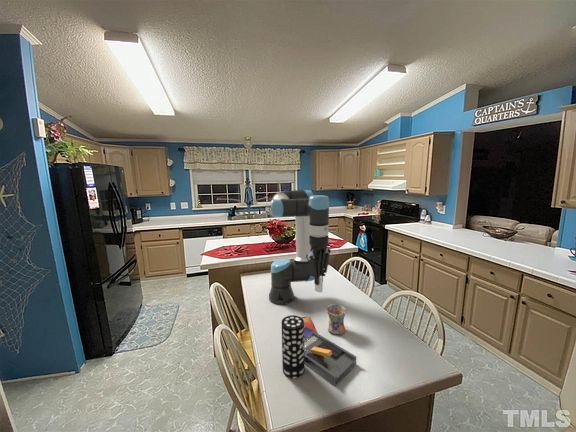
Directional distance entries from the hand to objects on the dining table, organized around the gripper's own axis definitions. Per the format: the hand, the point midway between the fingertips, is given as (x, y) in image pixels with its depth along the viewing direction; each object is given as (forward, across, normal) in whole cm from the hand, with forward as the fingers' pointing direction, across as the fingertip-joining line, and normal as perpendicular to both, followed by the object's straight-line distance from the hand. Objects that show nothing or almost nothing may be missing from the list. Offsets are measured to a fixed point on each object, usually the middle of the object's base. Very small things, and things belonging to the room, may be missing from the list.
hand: (318, 290), depth 98 cm
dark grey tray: (+26, -4, -5) cm, 27 cm away
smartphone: (+27, +7, +13) cm, 31 cm away
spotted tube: (+27, -16, 0) cm, 31 cm away
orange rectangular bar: (+22, -6, -6) cm, 24 cm away
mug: (+27, +16, +3) cm, 31 cm away
